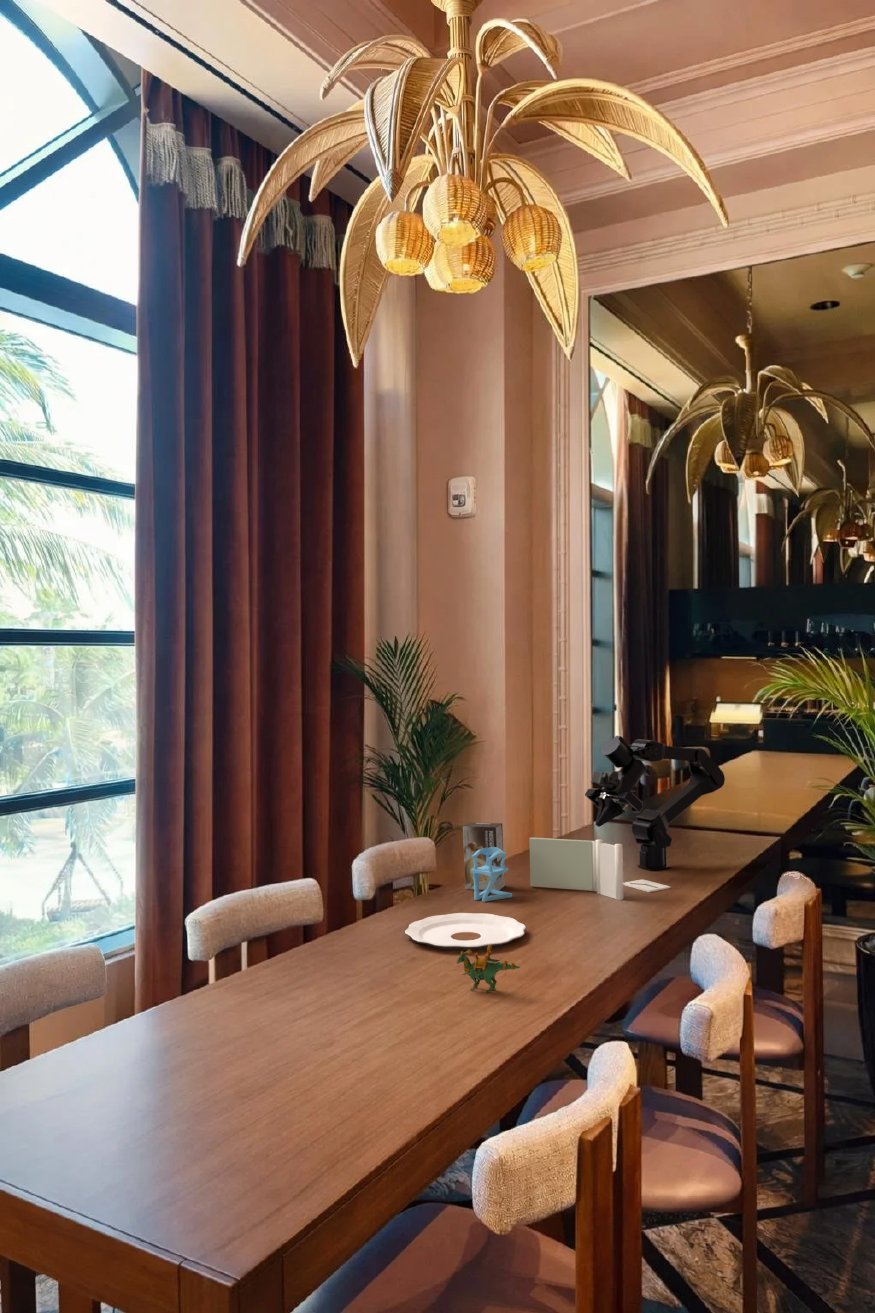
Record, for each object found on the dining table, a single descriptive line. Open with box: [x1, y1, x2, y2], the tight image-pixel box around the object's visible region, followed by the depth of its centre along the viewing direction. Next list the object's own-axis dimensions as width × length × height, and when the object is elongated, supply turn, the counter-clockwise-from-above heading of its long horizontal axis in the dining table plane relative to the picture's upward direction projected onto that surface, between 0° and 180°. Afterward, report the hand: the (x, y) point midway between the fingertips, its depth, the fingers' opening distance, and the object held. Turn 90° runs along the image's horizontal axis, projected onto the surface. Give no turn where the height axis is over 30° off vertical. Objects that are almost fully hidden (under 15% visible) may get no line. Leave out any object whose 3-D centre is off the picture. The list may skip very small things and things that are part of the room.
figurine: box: [456, 945, 521, 994], centre depth 173 cm, size 3×12×8 cm, turn 67°
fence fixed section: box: [595, 839, 624, 901], centre depth 238 cm, size 9×2×13 cm, turn 31°
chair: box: [471, 847, 513, 903], centre depth 239 cm, size 8×8×12 cm
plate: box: [404, 912, 527, 951], centre depth 207 cm, size 25×25×2 cm
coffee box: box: [462, 821, 505, 891], centre depth 250 cm, size 9×6×16 cm
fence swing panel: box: [528, 837, 597, 892], centre depth 246 cm, size 17×1×12 cm, turn 67°
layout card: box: [623, 878, 671, 893], centre depth 247 cm, size 10×7×1 cm
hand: (597, 825), depth 259 cm, fingers closed
